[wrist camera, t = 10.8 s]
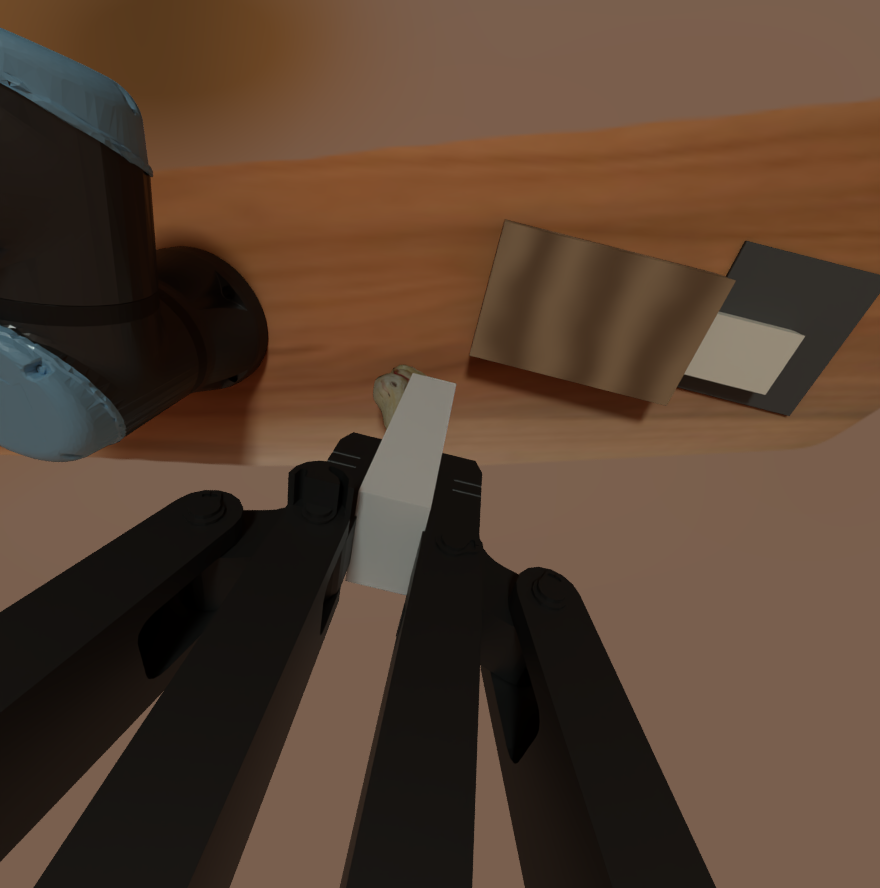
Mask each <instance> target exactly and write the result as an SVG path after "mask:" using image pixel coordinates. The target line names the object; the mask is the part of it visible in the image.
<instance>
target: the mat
mask: <svg viewBox="0 0 880 888" xmlns="http://www.w3.org/2000/svg"><path fill="white" fill-rule="evenodd" d="M726 277H727V278H730V279H733V280H736V281H735V283H734V285H733V287H732V289H731V290H730V292H729V294H728V296H727V298H726V299H725V301H724V303H723V305H722V307H721V308H720V310H719V312H723V313H727V314H731V315H735V316H738V317H742V318H746V319H750V320H754V321H758V322H762V323H766V324H770V325H774V326H778V327H782V328H786V329H790V330H793V331H795V332H797V333H799V334H802V335H804V336H805V337H804V339H803V340H802V342H801V343H800V345H799V346H798V348H797V349H796V351H795V352H794V354H793V355H792V356H791V358H790V359H789V361H788V362H787V364H786V365H785V367H784V368H783V370H782V371H781V373H780V374H779V376H778V377H777V379H776V380H775V381H774V383H773V384H772V386H771V387H770V389H769V390H768V392H767V393H766V395H764V394H760V393H756V392H752V391H748V390H744V389H740V388H736V387H732V386H728V385H724V384H720V383H716V382H713V381H709V380H705V379H701V378H697V377H693V376H689V375H685V374H684V375H683V377H682V379H681V380H680V382H679V384H678V386H677V387H679V388H682V389H686V390H690V391H694V392H698V393H702V394H706V395H710V396H714V397H718V398H721V399H725V400H729V401H733V402H737V403H741V404H745V405H749V406H753V407H757V408H760V409H764V410H768V411H772V412H776V413H780V414H784V415H788V416H790V414H791V413H792V412H793V410H794V409H795V408H796V406H797V405H798V404H799V402H800V401H801V400H802V398H803V397H804V395H805V394H806V393H807V391H808V390H809V389H810V387H811V386H812V385H813V383H814V382H815V381H816V379H817V378H818V376H819V375H820V374H821V372H822V371H823V370H824V368H825V367H826V366H827V364H828V363H829V361H830V360H831V359H832V357H833V356H834V355H835V353H836V352H837V351H838V349H839V348H840V347H841V345H842V344H843V342H844V341H845V340H846V338H847V337H848V336H849V334H850V333H851V332H852V330H853V329H854V328H855V326H856V325H857V323H858V322H859V321H860V319H861V318H862V317H863V315H864V314H865V313H866V311H867V310H868V309H869V307H870V306H871V304H872V303H873V302H874V300H875V299H876V298H877V296H878V295H879V294H880V275H878V274H874V273H870V272H866V271H862V270H859V269H855V268H851V267H847V266H843V265H839V264H835V263H831V262H827V261H823V260H819V259H815V258H811V257H808V256H804V255H800V254H796V253H792V252H788V251H784V250H780V249H776V248H772V247H768V246H764V245H760V244H757V243H753V242H749V241H745V242H744V244H743V246H742V248H741V250H740V251H739V253H738V255H737V257H736V259H735V261H734V263H733V264H732V266H731V268H730V270H729V272H728V274H727V276H726Z"/></svg>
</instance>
